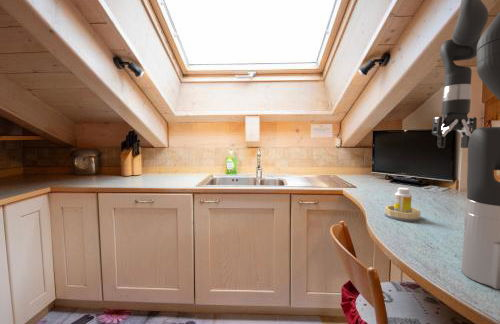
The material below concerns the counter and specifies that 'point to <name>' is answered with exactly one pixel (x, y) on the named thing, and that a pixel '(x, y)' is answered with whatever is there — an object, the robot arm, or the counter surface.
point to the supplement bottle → (403, 200)
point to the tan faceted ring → (402, 214)
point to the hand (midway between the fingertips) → (453, 147)
